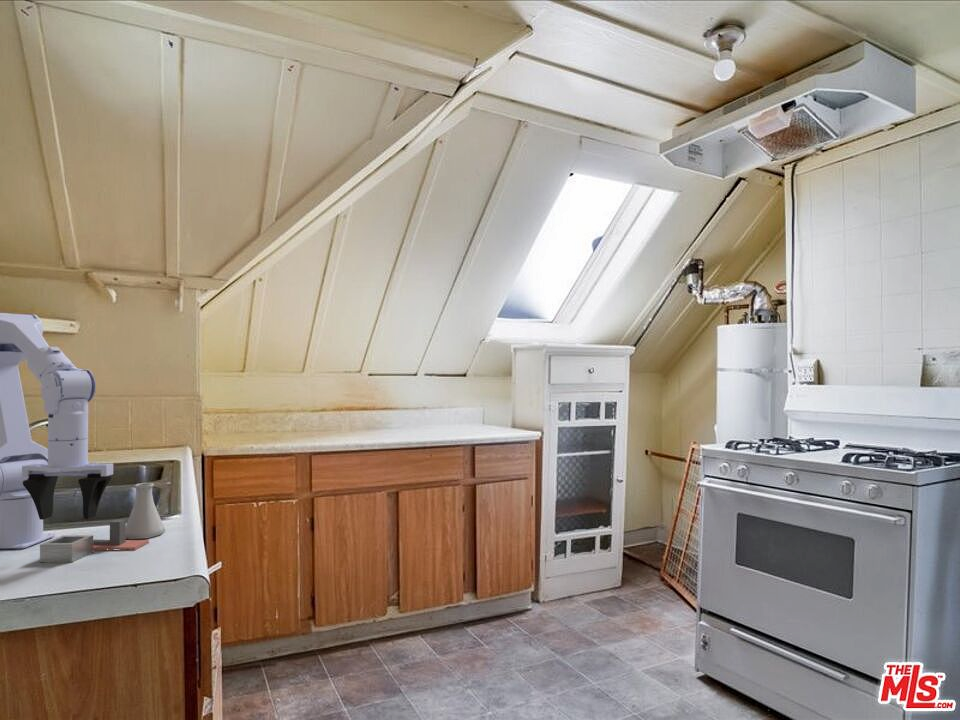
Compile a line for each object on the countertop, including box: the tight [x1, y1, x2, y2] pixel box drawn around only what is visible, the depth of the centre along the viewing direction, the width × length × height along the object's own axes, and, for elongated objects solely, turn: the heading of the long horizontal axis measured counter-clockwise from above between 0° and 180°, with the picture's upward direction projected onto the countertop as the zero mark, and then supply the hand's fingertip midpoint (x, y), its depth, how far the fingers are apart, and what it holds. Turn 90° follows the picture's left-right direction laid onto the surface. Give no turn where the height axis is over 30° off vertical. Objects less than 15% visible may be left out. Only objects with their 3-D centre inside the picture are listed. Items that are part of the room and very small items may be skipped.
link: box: [39, 534, 94, 563], centre depth 101 cm, size 5×5×3 cm
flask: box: [126, 482, 166, 540], centre depth 114 cm, size 7×7×10 cm
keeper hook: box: [93, 519, 150, 551], centre depth 107 cm, size 10×4×5 cm, turn 90°
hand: (67, 517), depth 101 cm, fingers open, 7 cm apart
